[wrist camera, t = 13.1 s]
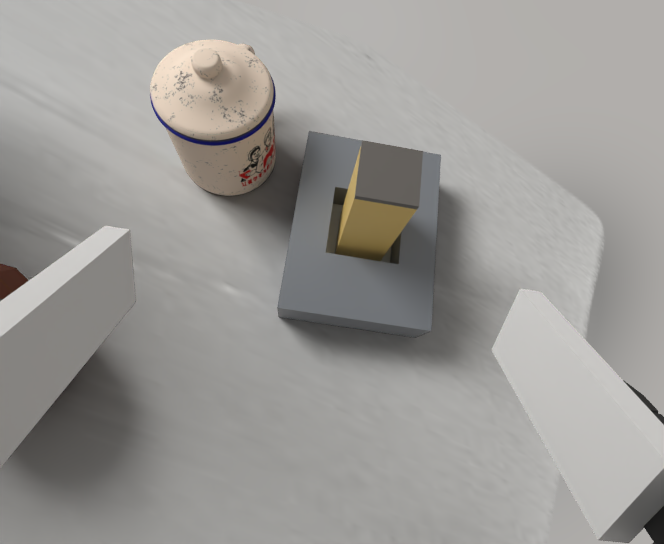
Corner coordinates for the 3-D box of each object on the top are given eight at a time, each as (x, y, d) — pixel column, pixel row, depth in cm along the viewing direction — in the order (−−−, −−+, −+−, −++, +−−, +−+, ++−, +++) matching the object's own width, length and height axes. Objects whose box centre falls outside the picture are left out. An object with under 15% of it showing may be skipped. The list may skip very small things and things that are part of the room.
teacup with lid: (261, 211, 36) (249, 131, 25) (165, 183, 35) (109, 90, 24) (298, 109, 39) (301, -1, 28) (211, 83, 39) (180, -38, 28)
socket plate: (278, 317, 33) (277, 307, 29) (306, 157, 38) (308, 131, 34) (415, 337, 34) (431, 330, 30) (425, 178, 38) (440, 155, 35)
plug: (334, 255, 34) (355, 195, 23) (340, 214, 35) (362, 140, 25) (379, 262, 34) (419, 206, 24) (383, 221, 35) (422, 151, 25)
